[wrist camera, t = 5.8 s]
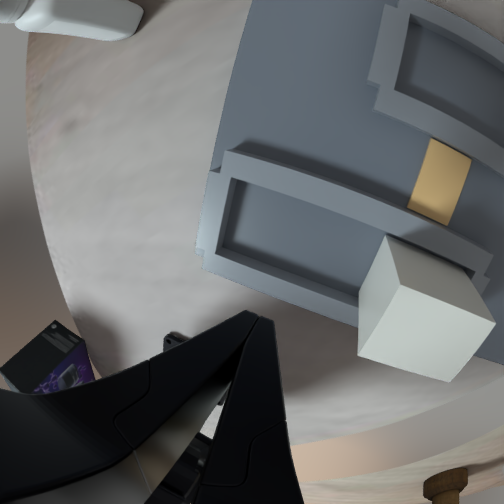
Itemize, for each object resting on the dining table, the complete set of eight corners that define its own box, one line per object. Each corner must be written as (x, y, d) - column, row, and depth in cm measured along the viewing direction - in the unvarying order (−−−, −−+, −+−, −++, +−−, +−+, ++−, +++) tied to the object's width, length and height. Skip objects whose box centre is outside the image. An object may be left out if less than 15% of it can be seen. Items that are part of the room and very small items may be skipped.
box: (108, 408, 38) (68, 455, 27) (79, 387, 39) (39, 430, 28) (87, 341, 30) (24, 400, 19) (55, 317, 31) (-5, 366, 21)
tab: (432, 319, 14) (449, 382, 9) (358, 292, 15) (357, 355, 10) (462, 268, 12) (496, 323, 8) (385, 234, 13) (400, 284, 9)
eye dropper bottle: (113, 62, 15) (-41, 62, 5) (88, 26, 14) (-41, 19, 4) (153, 17, 13) (-6, -19, 3) (122, -15, 12) (-8, -44, 2)
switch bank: (502, 354, 14) (511, 376, 12) (205, 246, 18) (186, 262, 16) (593, 150, 6) (613, 156, 4) (269, -18, 11) (256, -37, 8)
